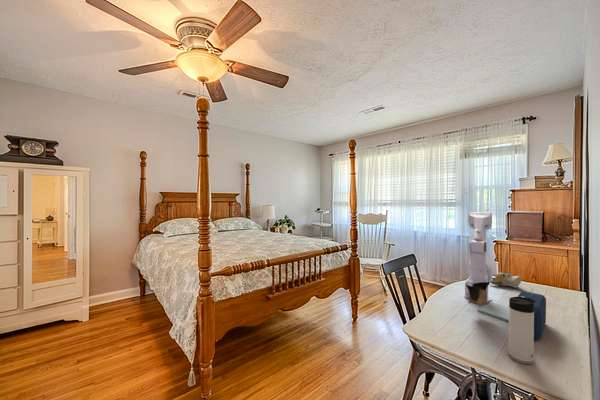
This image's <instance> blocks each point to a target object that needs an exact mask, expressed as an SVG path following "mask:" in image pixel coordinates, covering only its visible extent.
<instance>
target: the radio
mask: <svg viewBox="0 0 600 400" xmlns="http://www.w3.org/2000/svg"><path fill="white" fill-rule="evenodd" d="M517 297H525V298H531V299H533V300H535V302H534V341H535V340H536V341H539V340H540V339H541V338H542V336H543V332H544V329H545V327H546V323H547V321H546V319H547V298H546V297H545V295H543V294H540V293H536V292H532V291H531V292H530V291H525V290H522V291H521V292H519V294H518V295H517Z"/></svg>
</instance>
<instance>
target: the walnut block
mask: <svg viewBox="0 0 600 400" xmlns="http://www.w3.org/2000/svg"><path fill="white" fill-rule="evenodd" d="M468 304H471V305H476V306H477V307H478V306H479V307H483V306H485V305H487V304H488V302H487V290H485V289H480V291H479V295H478V300H477V301H474V300H472V299H471V296H470V293H469V299H468Z"/></svg>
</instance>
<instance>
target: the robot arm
mask: <svg viewBox="0 0 600 400" xmlns="http://www.w3.org/2000/svg"><path fill="white" fill-rule="evenodd" d="M467 215H468V219H467V222H468V226H469V228H470V229H472V231H471V232H470V233H471V234H470V240H469V242H468V253H469V264H468V265H467V267H468V268H467V279H466V280H465V283H464V298H466V299H468V300H469V293H470V296H471V299H472V300H474V301H477V300H478V295H479V291H480V289H485V290H487V303H490V302H491V301H492V300H493V298H489V285H490V284H492V283H491V282H492V278H493V277H492V276H493V275H492V267H491V266H490V265H489V264H488V263H487V257H486V255H488V242H487V231H489V230H491V229H492V226H493V225H492V224H493V213H492V212H480V211H473V212H472V211H469V212H468V214H467Z"/></svg>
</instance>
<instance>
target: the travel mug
mask: <svg viewBox="0 0 600 400" xmlns="http://www.w3.org/2000/svg"><path fill="white" fill-rule="evenodd" d="M508 299H509V300H508V301H509V303H508V307H509V322H508V356H509V358H510V359H511V360H513V361H514V362H516V363H519V364H520V365H521V364H522V365H533V364H534V356H535V355H534V352H535V351H534V346H535V342H534V341H535V339H534V302H535V300H533V299H531V298H525V297H518V296H512V297H509V298H508Z"/></svg>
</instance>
